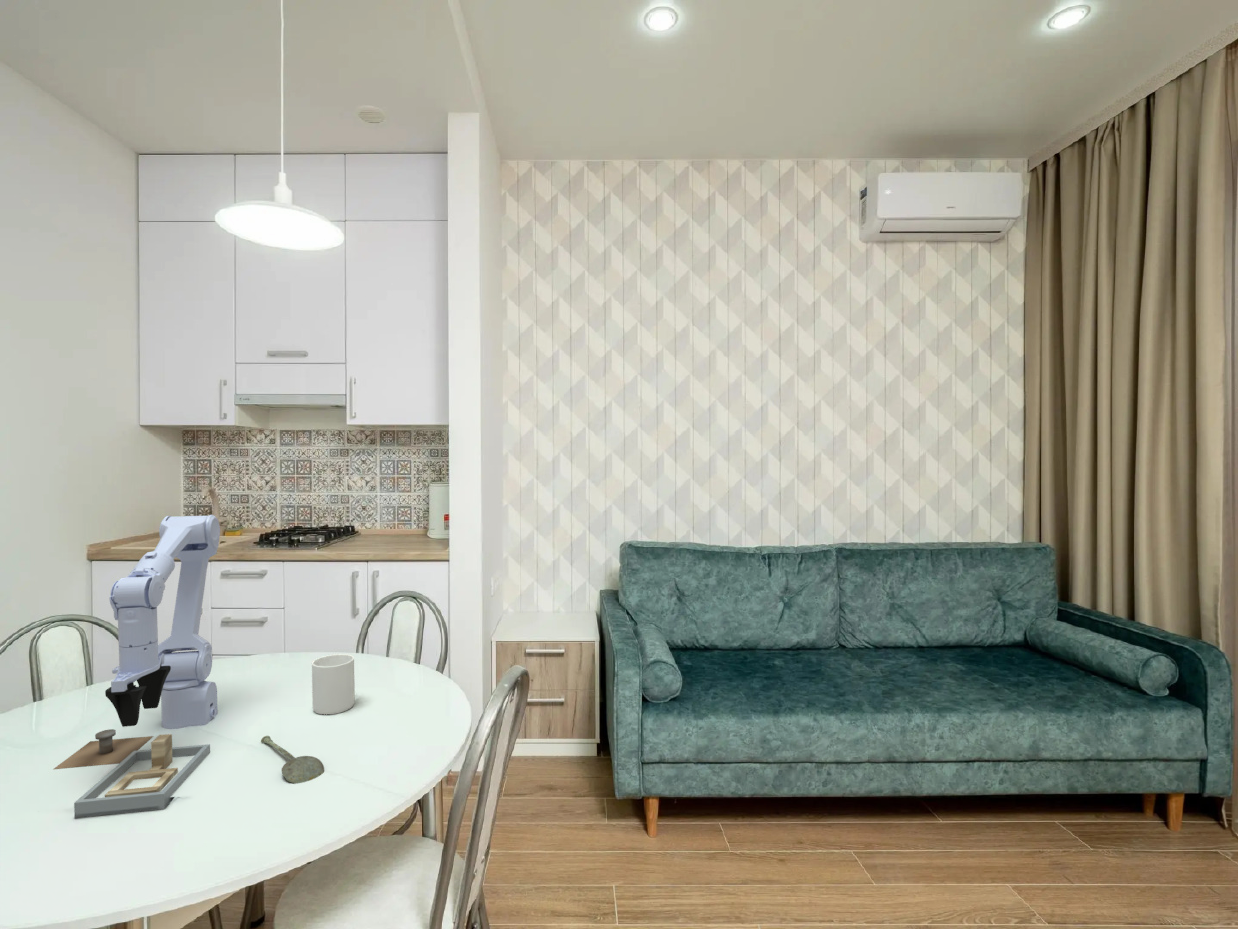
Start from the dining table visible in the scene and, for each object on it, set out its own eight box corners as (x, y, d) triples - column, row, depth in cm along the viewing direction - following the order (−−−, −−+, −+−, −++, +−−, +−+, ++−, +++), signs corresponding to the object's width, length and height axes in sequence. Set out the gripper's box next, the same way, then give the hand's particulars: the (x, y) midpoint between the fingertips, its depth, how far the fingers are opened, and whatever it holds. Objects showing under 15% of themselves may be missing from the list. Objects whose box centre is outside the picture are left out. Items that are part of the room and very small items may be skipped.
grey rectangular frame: (210, 757, 121) (209, 744, 121) (164, 809, 104) (163, 794, 104) (134, 764, 119) (134, 750, 119) (74, 818, 101) (74, 802, 101)
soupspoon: (290, 794, 110) (329, 781, 115) (291, 775, 110) (330, 763, 115) (247, 748, 125) (283, 739, 130) (248, 731, 125) (284, 722, 130)
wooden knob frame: (156, 797, 106) (155, 764, 106) (104, 802, 105) (103, 769, 105) (189, 762, 118) (188, 732, 118) (143, 766, 117) (142, 736, 116)
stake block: (153, 741, 128) (153, 718, 128) (123, 768, 117) (122, 743, 117) (90, 746, 126) (89, 723, 125) (53, 774, 115) (52, 749, 115)
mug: (349, 692, 153) (349, 647, 152) (357, 710, 142) (356, 662, 142) (309, 699, 148) (308, 653, 148) (314, 719, 138) (313, 669, 138)
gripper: (134, 632, 123) (136, 702, 124) (89, 657, 109) (92, 736, 109) (175, 630, 125) (177, 699, 125) (137, 654, 110) (139, 732, 111)
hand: (140, 716), depth 117 cm, fingers open, 7 cm apart
